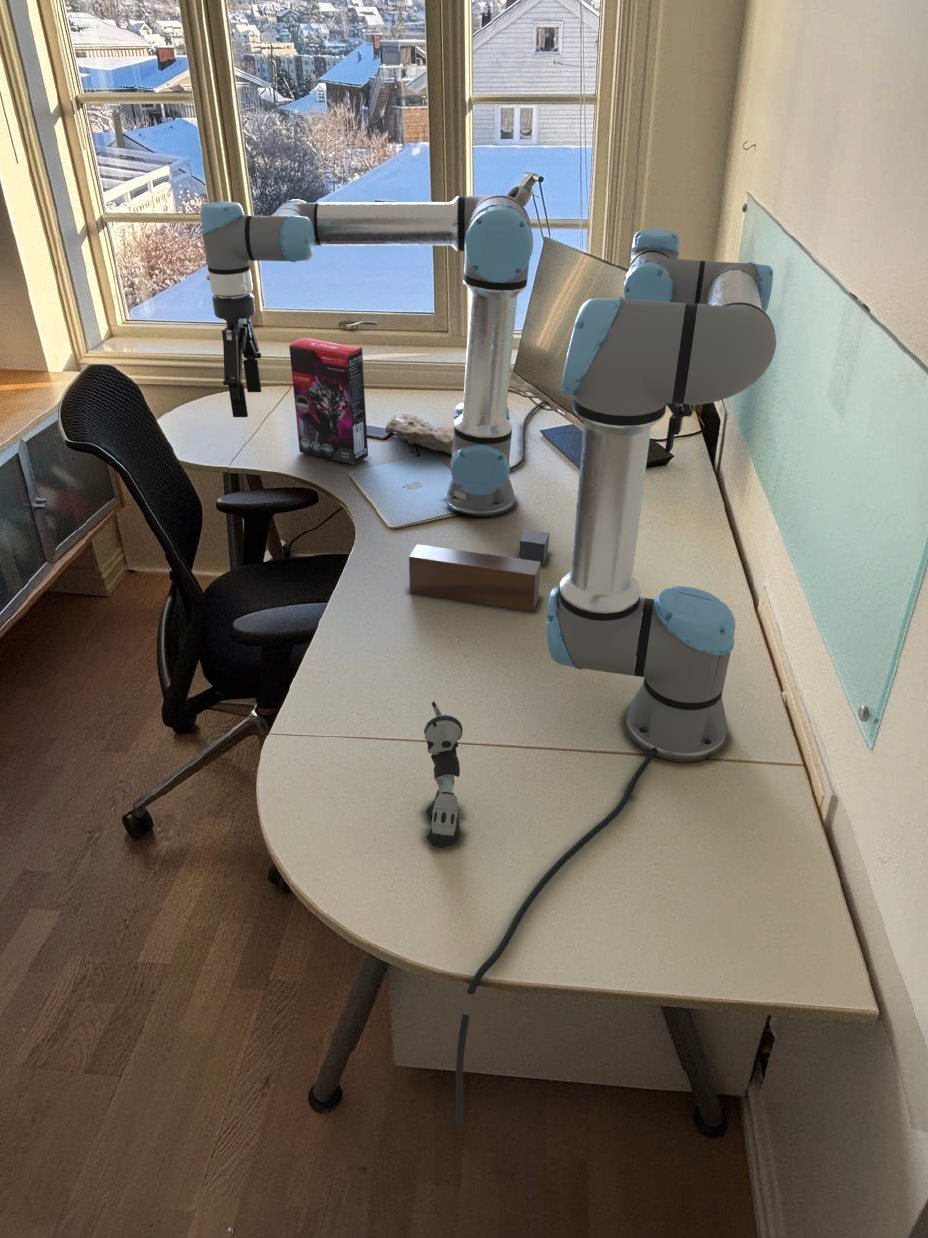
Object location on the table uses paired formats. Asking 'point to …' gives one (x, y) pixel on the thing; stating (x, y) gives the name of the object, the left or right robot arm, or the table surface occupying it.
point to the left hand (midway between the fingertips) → (247, 403)
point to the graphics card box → (329, 399)
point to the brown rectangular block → (474, 577)
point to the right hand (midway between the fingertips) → (632, 443)
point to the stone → (421, 432)
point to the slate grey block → (534, 546)
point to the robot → (443, 777)
